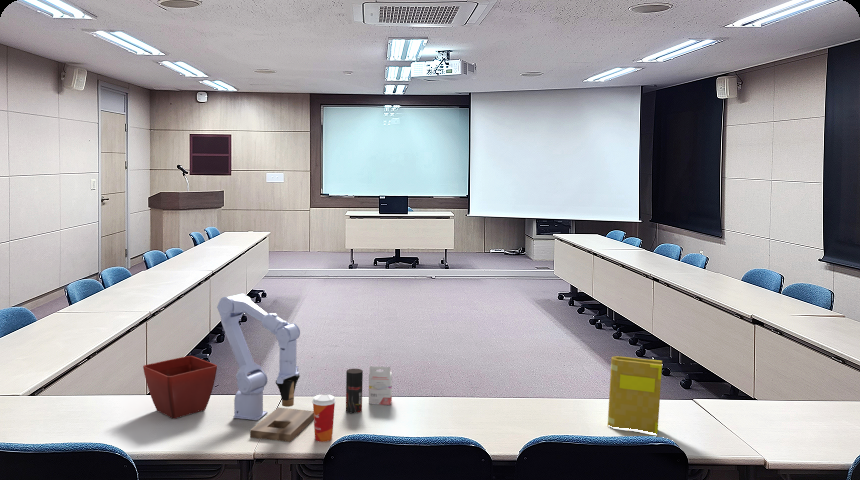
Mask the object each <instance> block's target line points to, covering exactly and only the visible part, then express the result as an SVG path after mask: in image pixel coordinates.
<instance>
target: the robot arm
mask: <svg viewBox="0 0 860 480" xmlns="http://www.w3.org/2000/svg"><path fill="white" fill-rule="evenodd" d="M216 308H217V311H218V313H219V316H220V321H221V325H222V329H223V330H224V333H225V336H226V338H227V341H228V343H229V346H230V349H231V350H232V354H233V356H234V359H235V362H236V364H237V366H238V371H237V372H236V374H235V378H236V382H237V383H236V385H237V389H238V390H237V392H236V393H235V396H234V399H233V402H234V406H233V407H234V411H233V412H234V414H233V416H232V417H233V419H241V420H251V421H259V420H261V419H262V418H263V417H264V416H265V415H267V414H268V411H267V410H266V411H265V410H264V391H265V387H266V386H267V384H268V382H269V381H268V375H267V374H266V373H265V371H264V370H263V369H262V366H261V365H260V364H258V363H256V362H254V359H253V357H252V353H251V352H250V348H249V346H248V343H247V341H246V339H245V335H244V332H243V331H242V329H241V325H240V323H239V321H240V319H241V317H242V316H243V315H244V314H248V315H249V316H251V317H253V318H254V319H255V320H258V321H259V322H261V325H262V327H263V328H264V329H265V330H267V331H269V332H270V333H271V334H273V335H274V336H275V338H276V341H277V343H278V347H279V351H278V352H279V358H278V359H279V366H278V368H279V369H278V370H279V371H278V374H277V377H276V380H275V385H276V386H277V388H278V391H279V393H280V397H281V401H282V400H286V401H288V399H289V393H290V388H291V385H292V383H293V381H294V392H295V391H296V388H297V387H296V386H297V383H298V381H299V379H300V371H299V365H298V366H297V342H298V341H297V339H299V338H300V335H301V330H300V328H299V326H298V325H297V324H296V323H295V322H291V323H289V322H288V321H287V320H284V319H282V317H279V316H278V314H277V313H273V312H271V313H270V312H269V313H268V312H266V311H265V310H264V309H262V308H261V307H260V306H258V305H257V304H256V303H255V302H253V301H252V299H251V297H250V296H248V295H246V294H245V293H243V292H241V293H238V294H234V295H229V296H222V297H221V298H220V299H219V301H218V304H217V306H216ZM288 380H290V381H288Z"/></svg>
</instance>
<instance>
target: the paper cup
mask: <svg viewBox="0 0 860 480" xmlns="http://www.w3.org/2000/svg"><path fill="white" fill-rule="evenodd" d="M312 398H313V399H312V401H311V402H312V405H313V406H312V407H313V409H312V411H314V419H313V428H314V440H315V442H319V443H320V442H321V443H327V442H330V441H332V440H333V432H334V419H335V417H334V416H335V403H336V402H337V400H336V399H335V396H334V395H332V394H317V395H315V396H314V397H312Z"/></svg>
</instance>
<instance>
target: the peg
mask: <svg viewBox="0 0 860 480" xmlns="http://www.w3.org/2000/svg"><path fill="white" fill-rule="evenodd" d="M288 381H290V380H288ZM294 402H295V391H294V381H293V383H292V385H291V388H290V393H289V399H288V401H286V400H282V399H281V406H282V407H284V408H289V407H293V406H294V405H295V403H294Z"/></svg>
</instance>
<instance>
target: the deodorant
mask: <svg viewBox="0 0 860 480" xmlns="http://www.w3.org/2000/svg"><path fill="white" fill-rule="evenodd" d="M363 371H364V370H363V369H361V368H349V369H347V370H346V373H345V374H346V375H345V376H346V377H345V378H346V379H345V380H346V381H345V382H346V383H345V385H346V386H345V412H346V413H348V414H359V413H361V412H362V411H363V382H364V381H363V377H364V375H363Z"/></svg>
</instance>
